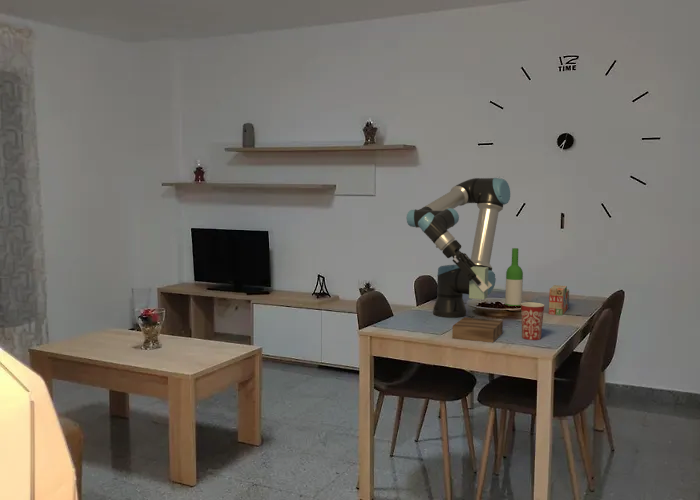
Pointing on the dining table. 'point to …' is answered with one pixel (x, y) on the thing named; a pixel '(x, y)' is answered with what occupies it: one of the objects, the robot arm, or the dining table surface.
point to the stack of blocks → (558, 300)
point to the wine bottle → (514, 282)
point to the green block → (473, 288)
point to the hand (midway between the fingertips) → (487, 288)
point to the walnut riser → (477, 329)
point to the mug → (532, 320)
